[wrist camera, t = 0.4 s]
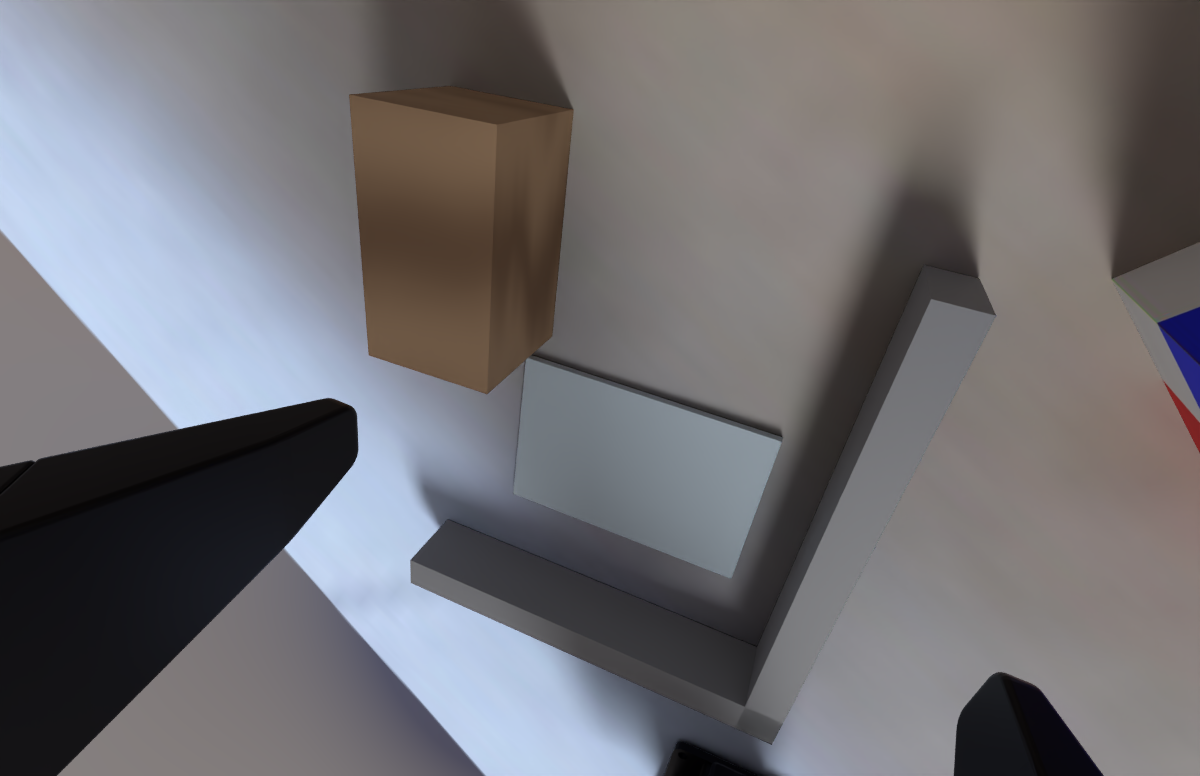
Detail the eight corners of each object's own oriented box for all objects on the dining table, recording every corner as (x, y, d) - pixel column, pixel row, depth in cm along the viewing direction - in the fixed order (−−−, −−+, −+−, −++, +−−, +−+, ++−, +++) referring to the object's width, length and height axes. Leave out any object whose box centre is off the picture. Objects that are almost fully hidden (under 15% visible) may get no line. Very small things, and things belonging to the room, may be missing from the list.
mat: (732, 573, 26) (731, 578, 26) (516, 489, 28) (512, 493, 28) (782, 437, 22) (781, 441, 22) (529, 354, 25) (525, 357, 24)
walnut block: (553, 335, 24) (487, 394, 20) (451, 305, 25) (368, 355, 21) (575, 109, 20) (497, 124, 16) (452, 85, 21) (349, 94, 17)
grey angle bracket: (781, 682, 28) (771, 744, 25) (447, 541, 32) (410, 582, 29) (979, 278, 18) (996, 316, 15) (456, 149, 22) (402, 162, 19)
